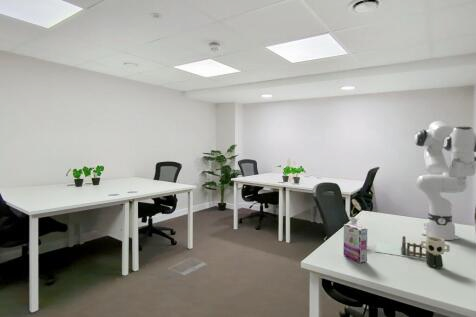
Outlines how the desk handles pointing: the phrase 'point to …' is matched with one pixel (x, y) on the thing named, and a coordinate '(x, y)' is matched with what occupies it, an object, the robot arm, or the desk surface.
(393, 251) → the card
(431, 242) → the character mug
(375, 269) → the desk surface
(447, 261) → the desk surface
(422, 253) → the fence panel with post
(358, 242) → the candy bar box
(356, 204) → the flower in vase
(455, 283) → the desk surface
